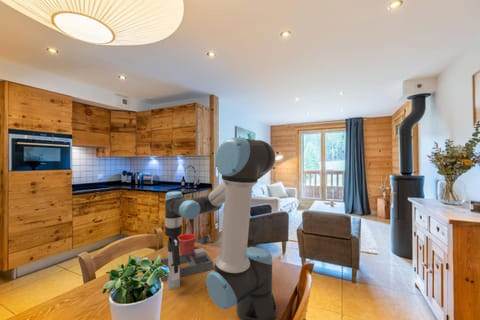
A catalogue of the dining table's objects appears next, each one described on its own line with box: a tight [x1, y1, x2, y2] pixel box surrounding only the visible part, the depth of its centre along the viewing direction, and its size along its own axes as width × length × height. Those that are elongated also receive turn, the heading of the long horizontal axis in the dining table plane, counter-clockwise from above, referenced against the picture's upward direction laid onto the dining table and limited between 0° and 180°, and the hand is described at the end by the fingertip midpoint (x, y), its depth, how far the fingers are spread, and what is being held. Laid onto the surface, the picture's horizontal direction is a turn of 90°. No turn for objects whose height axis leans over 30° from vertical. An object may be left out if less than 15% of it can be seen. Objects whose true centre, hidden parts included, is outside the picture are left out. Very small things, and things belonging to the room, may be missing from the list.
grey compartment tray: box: [160, 252, 214, 282], centre depth 111 cm, size 15×27×4 cm, turn 116°
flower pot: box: [177, 233, 197, 255], centre depth 131 cm, size 11×11×10 cm
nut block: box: [166, 266, 181, 291], centre depth 96 cm, size 5×5×8 cm
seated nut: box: [193, 247, 207, 264], centre depth 115 cm, size 5×5×8 cm
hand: (173, 271), depth 96 cm, fingers open, 13 cm apart
